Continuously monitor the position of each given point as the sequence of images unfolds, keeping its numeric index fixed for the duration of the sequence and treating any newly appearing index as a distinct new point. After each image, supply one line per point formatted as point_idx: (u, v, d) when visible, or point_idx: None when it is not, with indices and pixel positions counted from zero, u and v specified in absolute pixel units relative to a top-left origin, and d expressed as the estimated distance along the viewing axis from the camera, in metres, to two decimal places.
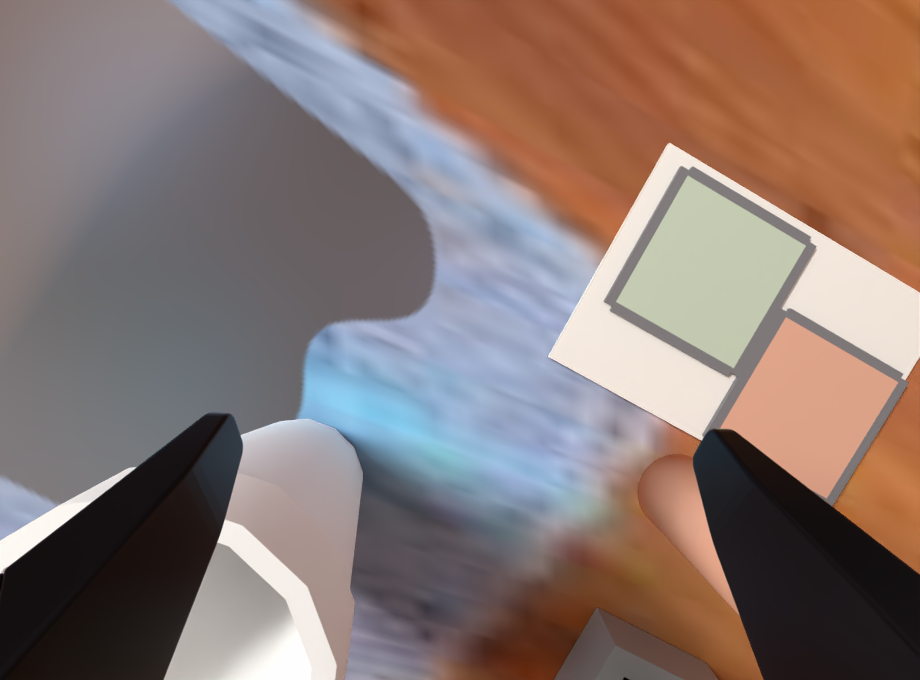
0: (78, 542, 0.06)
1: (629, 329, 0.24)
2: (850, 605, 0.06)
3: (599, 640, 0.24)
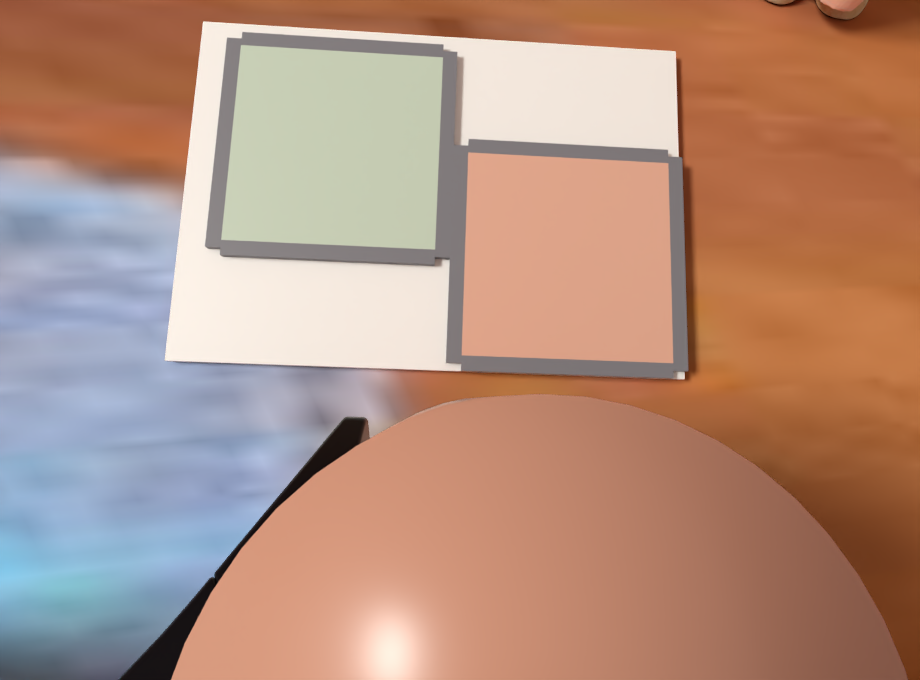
0: None
1: (265, 268, 0.16)
2: None
3: None
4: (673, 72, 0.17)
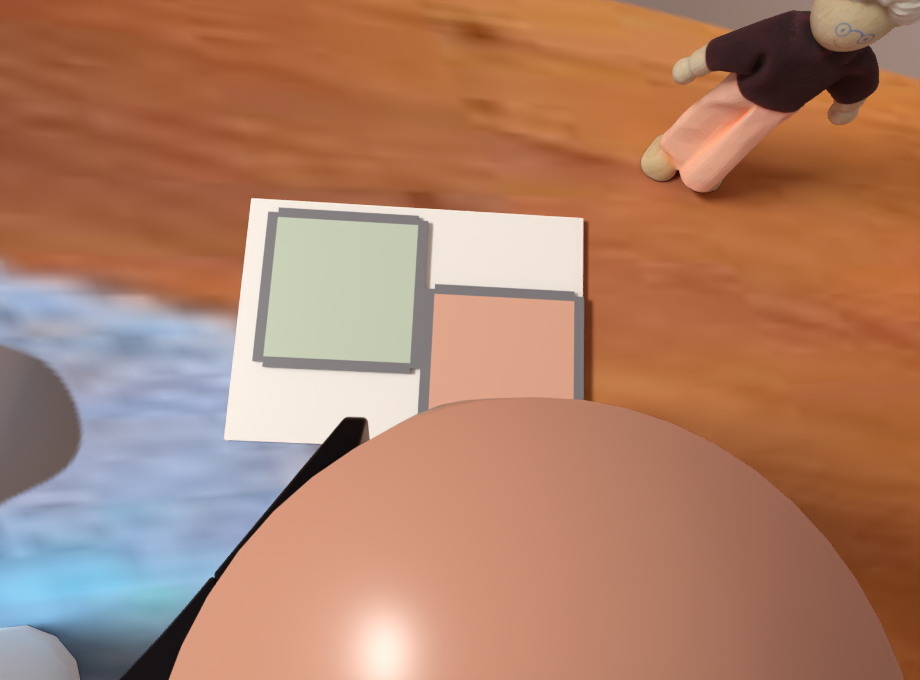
0: None
1: (292, 375, 0.23)
2: None
3: None
4: (581, 233, 0.24)
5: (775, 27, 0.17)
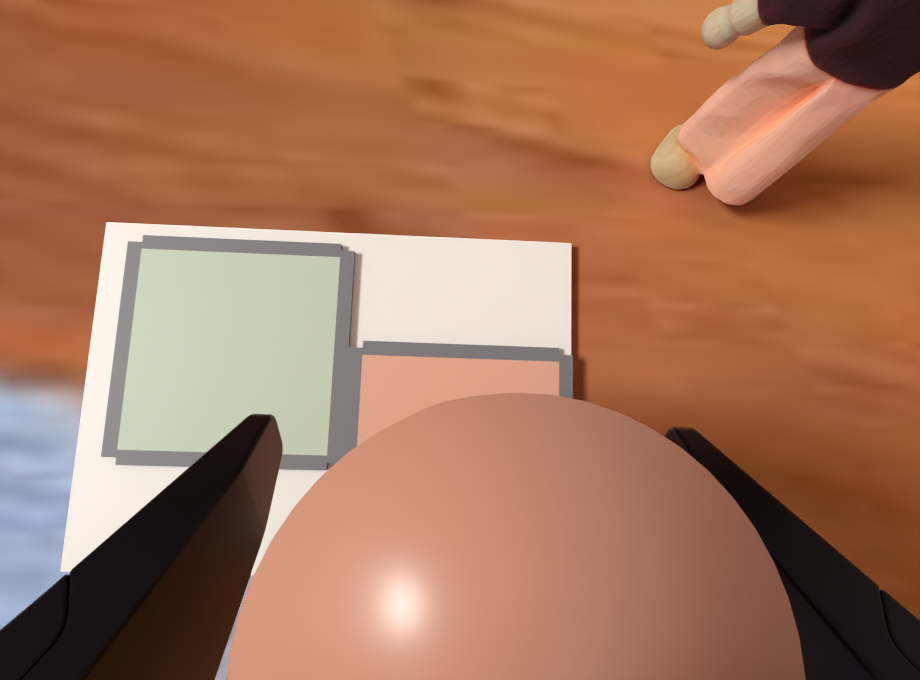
0: (139, 543, 0.06)
1: (161, 474, 0.16)
2: (792, 604, 0.06)
3: None
4: (568, 264, 0.18)
5: None
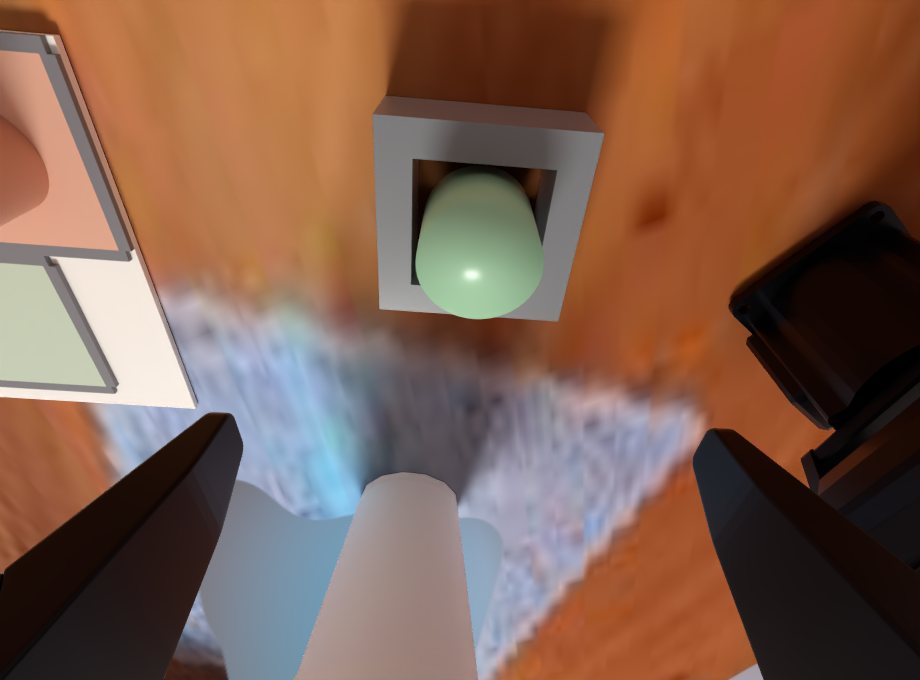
0: (78, 542, 0.06)
1: (115, 363, 0.24)
2: (850, 605, 0.06)
3: None
4: None
5: None
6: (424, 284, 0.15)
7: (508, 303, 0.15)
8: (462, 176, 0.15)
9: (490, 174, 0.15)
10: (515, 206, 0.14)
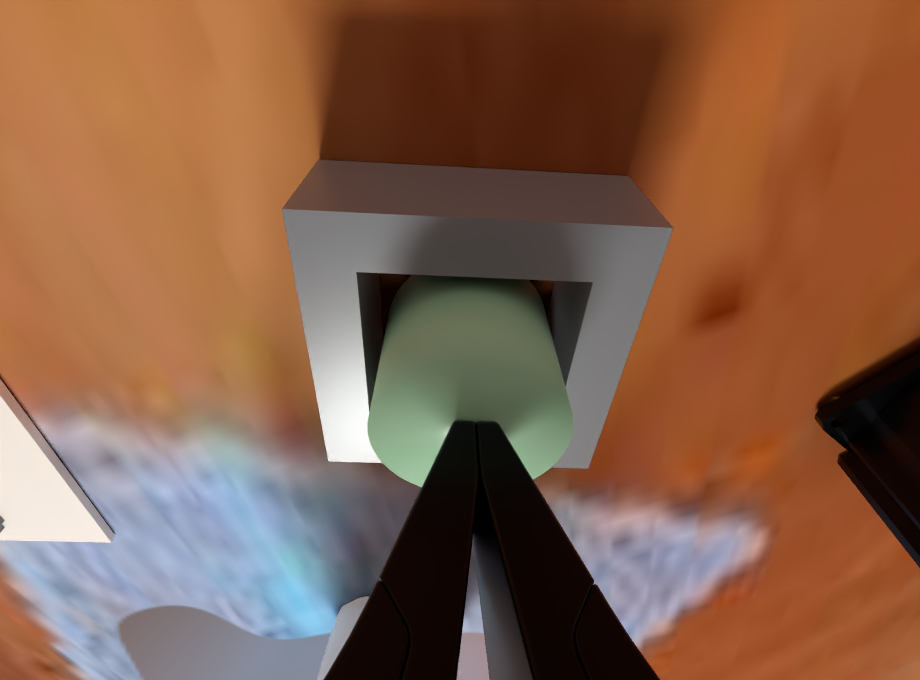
0: (430, 549, 0.06)
1: None
2: (506, 599, 0.06)
3: None
4: None
5: None
6: (384, 457, 0.09)
7: None
8: (440, 280, 0.10)
9: None
10: (525, 345, 0.08)
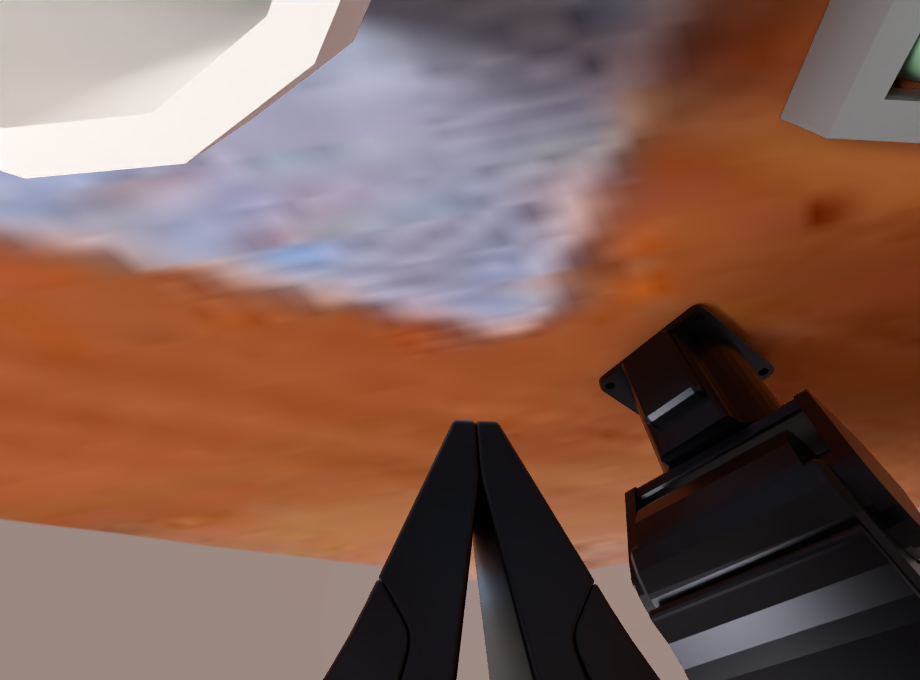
0: (430, 550, 0.06)
1: None
2: (506, 599, 0.06)
3: None
4: None
5: None
6: None
7: None
8: None
9: None
10: None
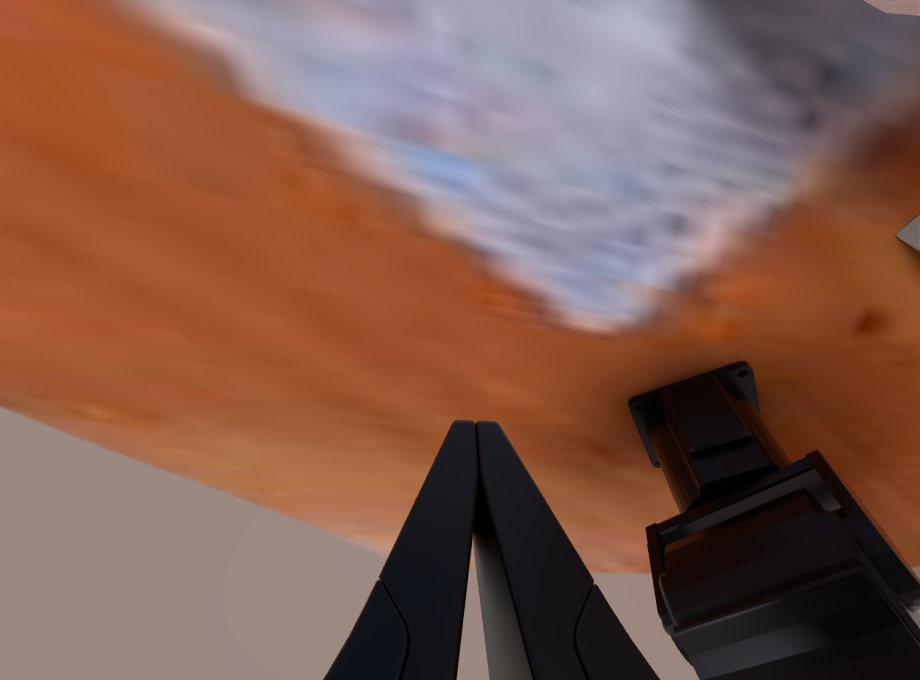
0: (430, 550, 0.06)
1: None
2: (506, 599, 0.06)
3: None
4: None
5: None
6: None
7: None
8: None
9: None
10: None
